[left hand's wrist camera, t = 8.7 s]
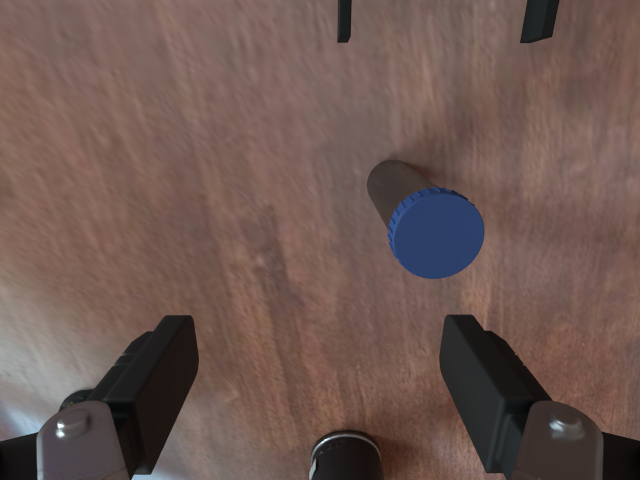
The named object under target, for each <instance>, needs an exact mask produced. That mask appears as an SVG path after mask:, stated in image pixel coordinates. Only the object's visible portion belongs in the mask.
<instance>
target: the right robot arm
mask: <svg viewBox="0 0 640 480" xmlns="http://www.w3.org/2000/svg"><path fill="white" fill-rule="evenodd" d="M351 2H352V0H338V40H337V43H348V41H349V39H350V36H351ZM558 5H559V0H527V6H526V12H525V18H524V23H523V29H522V35H521V40H520V43H532V42H536V41H539V40H543V39H546V38H550V37H552V34H553V29H554V24H555V19H556V14H557V9H558Z"/></svg>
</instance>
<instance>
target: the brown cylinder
mask: <svg viewBox="0 0 640 480" xmlns="http://www.w3.org/2000/svg"><path fill="white" fill-rule="evenodd" d="M434 187H437V188H439V187H438V186H436V185H435V184H433V183H432V182H431V181H429V180H428V179H426V178H425V177H423V176H422V175H421V174H419V173H418V172H416V171H415V170H413V169H412V168H411V167H409V166H408V165H406V164H405V163H403V162H401V161H397V160H388V161H385V162H382V163H380V164H379V165H377V166H376V167H375V168H374V169H373V170H372V171H371V173H370V175H369V177H368V181H367V191H368V194H369V196H370V198H371V200H372V202H373V203H374V205H375V207H376V209H377V211H378V213H379V214H380V216H381V218H382V220H383V222H384V224H385V225H386V227H387V229H388V226H389V224H390V217H392V215H393V213H394V209H396V208H397V207H398V206H399V204H400V202H402V201H403V200H405V199H406V198H407V196H410V195H412V194H413V193H415V191H420V190H423V189H424V188H427V189H428V188H434ZM388 231H389V229H388Z"/></svg>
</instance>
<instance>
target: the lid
mask: <svg viewBox="0 0 640 480" xmlns="http://www.w3.org/2000/svg"><path fill="white" fill-rule="evenodd" d="M388 229H389V234H387V235H388V238H389V240H390V242H389V245H390V247H391V249H392V251H393V253H394V255H395V257H396V258H398V260H399V262H400V264H401V265H402V266H403V267H404V268H405V269H407V270H408V271H409V272H411V273H412V274H415V275H417V276H420V277H423V278H429V279H439V278H445V277H448V276H451V275H454V274H456V273H458V272H460V271H461V270H463V269H464V268H466V267H467V266H468V265H469V264H470V263H471V262H472V261H473V260H474V259H475V257H476V256H477V254H478V253H479V251H480V249H481V246H482V244H483V239H484V224H483V220H482V217H481V215H480V213H479V211H478V210H477V209H476V207H475V205H474V204H472V203H471V202H469V201H468V199H467V198H466V197H464V196H462V195H461V194H459V193H457V192H455V191H454V190H452V191H451V190H448V189H446V188H445V187H443V188H437V187H434V188H428V189H427V188H424V189H423V190H420V191H415V193H413V194H412V195H410V196H407V198H406V199H405V200H403V201H402V202H400V204H399V206H398V207H397V208H396V209H394V213H393V215H392V217H390V224H389V226H388Z"/></svg>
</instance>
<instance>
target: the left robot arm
mask: <svg viewBox="0 0 640 480" xmlns="http://www.w3.org/2000/svg"><path fill="white" fill-rule="evenodd" d="M439 361H440V369H441V373H442V376H443V379H444V381H445V383H446V385H447V387H448V390H449V392H450V394H451V396H452V398H453V401H454V403H455V405H456V407H457V409H458V412H459V414H460V416H461V418H462V420H463V423H464V425H465V427H466V429H467V431H468V434H469V436H470V438H471V440H472V442H473V445H474V447H475V449H476V451H477V453H478V456H479V458H480V460H481V462H482V464H483V467H484V469H485V471H486V473H503V474H504V476H505V478H506V480H640V441H638V440H634V439H630V438H626V437H621V436H617V435H613V434H609V433H605V432H601V431H600V429H599V427H598V426H597V425H596V424H595V423H594V422H593V421H592V420H591V419H590V418H589V417H588V416H586V415H585V414H584V413H582V412H580V411H579V410H577V409H575V408H573V407H571V406H569V405H566V404H563V403H560V402H556V401H553V400H552V399H551V398H550V396H549V395H548V394H547V393H546V391H545V390H544V389H543V388H542V386H541V385H540V384H539V383H538V381H537V380H536V379H535V377H534V376H533V375H532V374H531V372H530V371H529V370H528V369H527V367H526V366H525V365H523V362H522V361H521V360H520V359H519V357H518V356H517V355H515V352H514V351H513V350H512V348H511V347H510V346H509V345H508V343H507V342H506V341H505V340H503V339H502V338H501V337H499V336H498V335H496V334H495V333H493V332H492V331H484V329H483V328H482V327H481V325H480V324H479V323H478V321H477V320H476V319H475V317H474V316H473V315H447V316H446V317H445V320H444V327H443V334H442V341H441V349H440V357H439ZM198 364H199V356H198V348H197V341H196V334H195V327H194V321H193V318H192V316H191V315H166V316H165V317H164V318H163V319H162V320H161V322H160V323H159V324H158V326H157V327H156V329H155V330H154V331H147V332H146V333H144V334H143V335H141V336H140V337H138V338H137V339H135V340H134V341H132V343H131V344H130V345H129V346H128V348H127V349H126V350H125V351H124V353H123V355H122V356H120V358H119V359H118V360H117V361H116V363H115V365H114V366H112V368H111V369H110V370H109V371H108V373H107V374H106V375H105V376H104V378H103V379H102V380H101V381H100V383H99V384H98V385H97V386H96V388H95V389H94V390H93V391H92V393H91V394H90V395H89V396H88V398H87V399H86V400H85V401H84V402H80V403H77V404H74V405H71V406H69V407H67V408H65V409H63V410H61V411H60V412H58V413H56V414H55V415H54V416H52V417H51V418H50V419H49V420H48V421H47V422H46V423H45V424H44V425H43V426H42V427H41V429H40V431H39V432H37V433H33V434H29V435H25V436H21V437H17V438H13V439H9V440H5V441H1V442H0V480H131V479H132V477H133V475H151V473H152V471H153V469H154V467H155V464H156V462H157V460H158V458H159V456H160V453H161V451H162V449H163V447H164V445H165V443H166V440H167V438H168V436H169V434H170V432H171V430H172V427H173V425H174V423H175V421H176V419H177V417H178V414H179V412H180V410H181V408H182V406H183V404H184V401H185V399H186V397H187V395H188V393H189V390H190V388H191V386H192V384H193V382H194V380H195V377H196V375H197V371H198ZM311 466H312V468H311V470H310V479H309V480H384V476H383V470H382V464H381V454H380V449H379V447H378V445H377V444H376V442H375V441H374V440H373V439H372V438H370V437H369V436H367V435H365V434H363V433H360V432H356V431H337V432H333V433H330V434H328V435H326V436H324V437H323V438H321V439H320V440H319V441H318V442H317V443H316V444H315V445H314V447H313V449H312V453H311Z"/></svg>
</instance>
